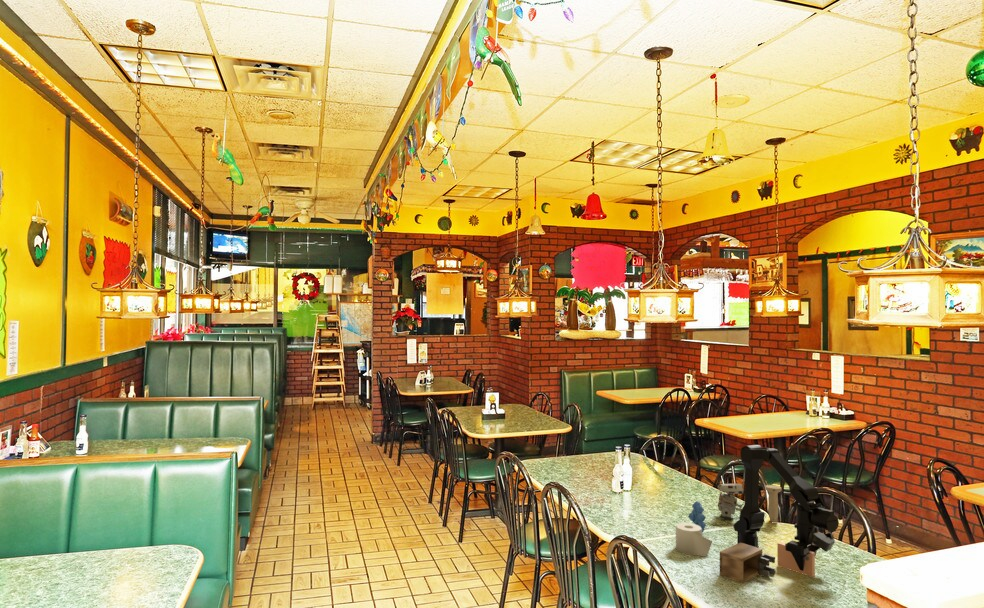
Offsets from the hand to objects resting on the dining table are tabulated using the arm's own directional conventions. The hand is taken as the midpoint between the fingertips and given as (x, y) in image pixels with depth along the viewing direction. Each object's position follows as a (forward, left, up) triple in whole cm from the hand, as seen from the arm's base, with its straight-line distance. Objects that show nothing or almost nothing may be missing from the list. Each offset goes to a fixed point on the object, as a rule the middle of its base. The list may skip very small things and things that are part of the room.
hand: (806, 567), depth 208 cm
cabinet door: (-3, 0, -2) cm, 4 cm away
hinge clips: (-8, -11, -2) cm, 14 cm away
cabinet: (-14, -18, -2) cm, 23 cm away
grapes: (-47, +7, -2) cm, 48 cm away
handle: (-33, +45, -2) cm, 56 cm away
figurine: (-47, +35, -2) cm, 59 cm away
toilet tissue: (-36, -13, -2) cm, 39 cm away
